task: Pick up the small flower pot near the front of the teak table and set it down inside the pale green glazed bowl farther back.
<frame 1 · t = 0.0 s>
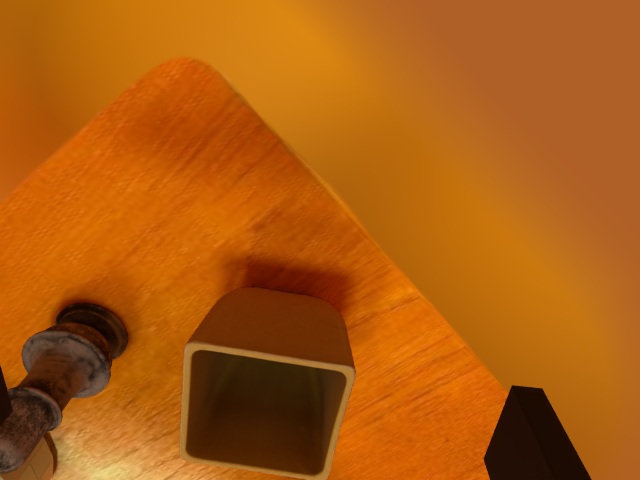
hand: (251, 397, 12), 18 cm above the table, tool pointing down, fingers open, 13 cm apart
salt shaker: (93, 330, 34), on the table
flower pot: (281, 316, 33), on the table
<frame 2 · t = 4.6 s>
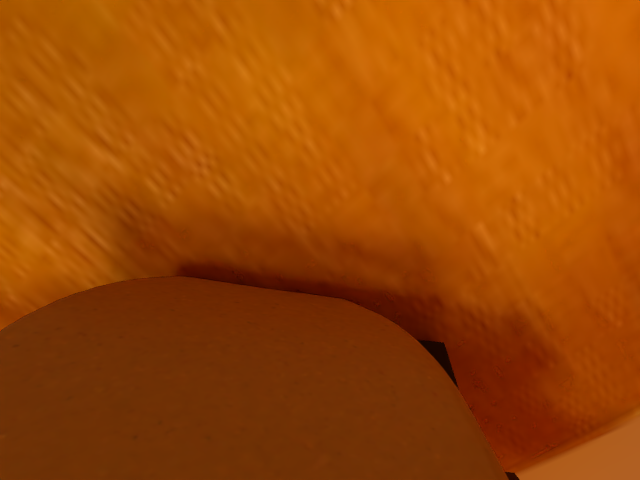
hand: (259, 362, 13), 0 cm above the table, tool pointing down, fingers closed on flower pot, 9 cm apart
flower pot: (261, 351, 13), on the table, touching gripper
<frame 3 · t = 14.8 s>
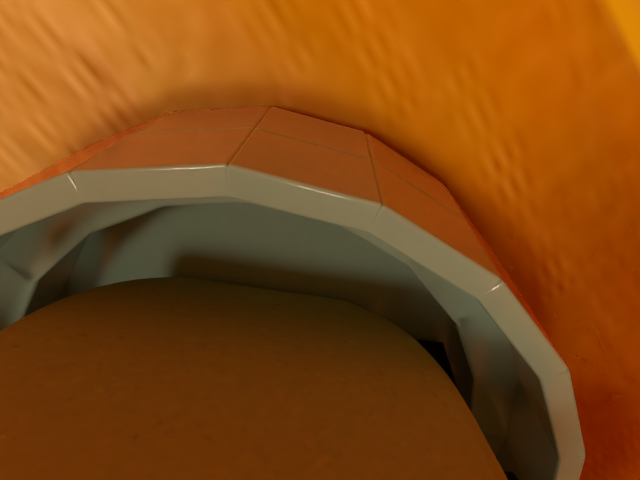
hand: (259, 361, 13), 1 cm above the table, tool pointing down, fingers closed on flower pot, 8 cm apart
bowl: (261, 339, 14), on the table
flower pot: (261, 351, 13), on the table, touching gripper
when the fingers open (4 cm above the table, at t = 27.6 s): flower pot stays where it is, resting on bowl.
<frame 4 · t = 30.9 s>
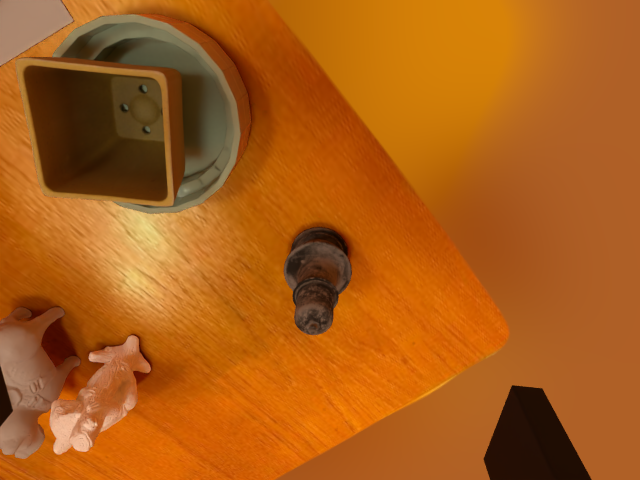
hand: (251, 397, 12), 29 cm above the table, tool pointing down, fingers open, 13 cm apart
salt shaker: (319, 251, 43), on the table
pink animal figurine: (128, 356, 49), on the table
dog figurine: (55, 343, 49), on the table
bowl: (166, 110, 37), on the table
flower pot: (149, 108, 36), point 1 cm above the table, touching bowl
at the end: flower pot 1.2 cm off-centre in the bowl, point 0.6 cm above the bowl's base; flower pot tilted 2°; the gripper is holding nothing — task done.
